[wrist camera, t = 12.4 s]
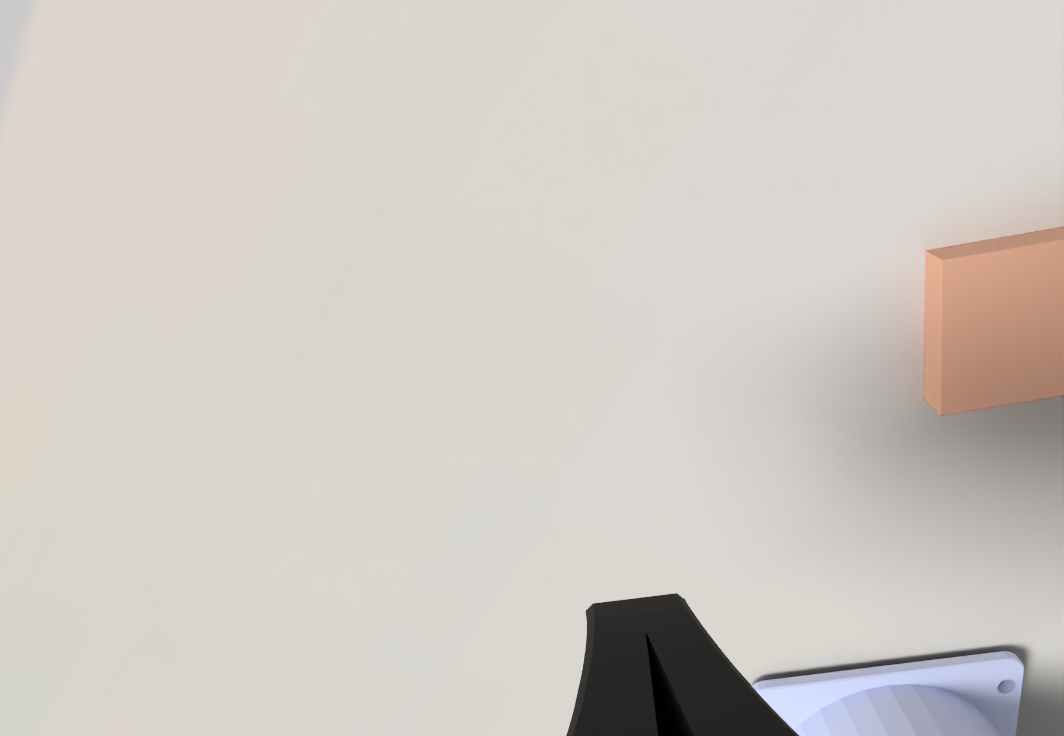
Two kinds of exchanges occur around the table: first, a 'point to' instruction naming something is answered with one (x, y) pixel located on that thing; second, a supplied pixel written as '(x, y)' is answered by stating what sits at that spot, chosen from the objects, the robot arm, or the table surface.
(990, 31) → the table surface
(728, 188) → the table surface
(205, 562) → the table surface
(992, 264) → the domino
